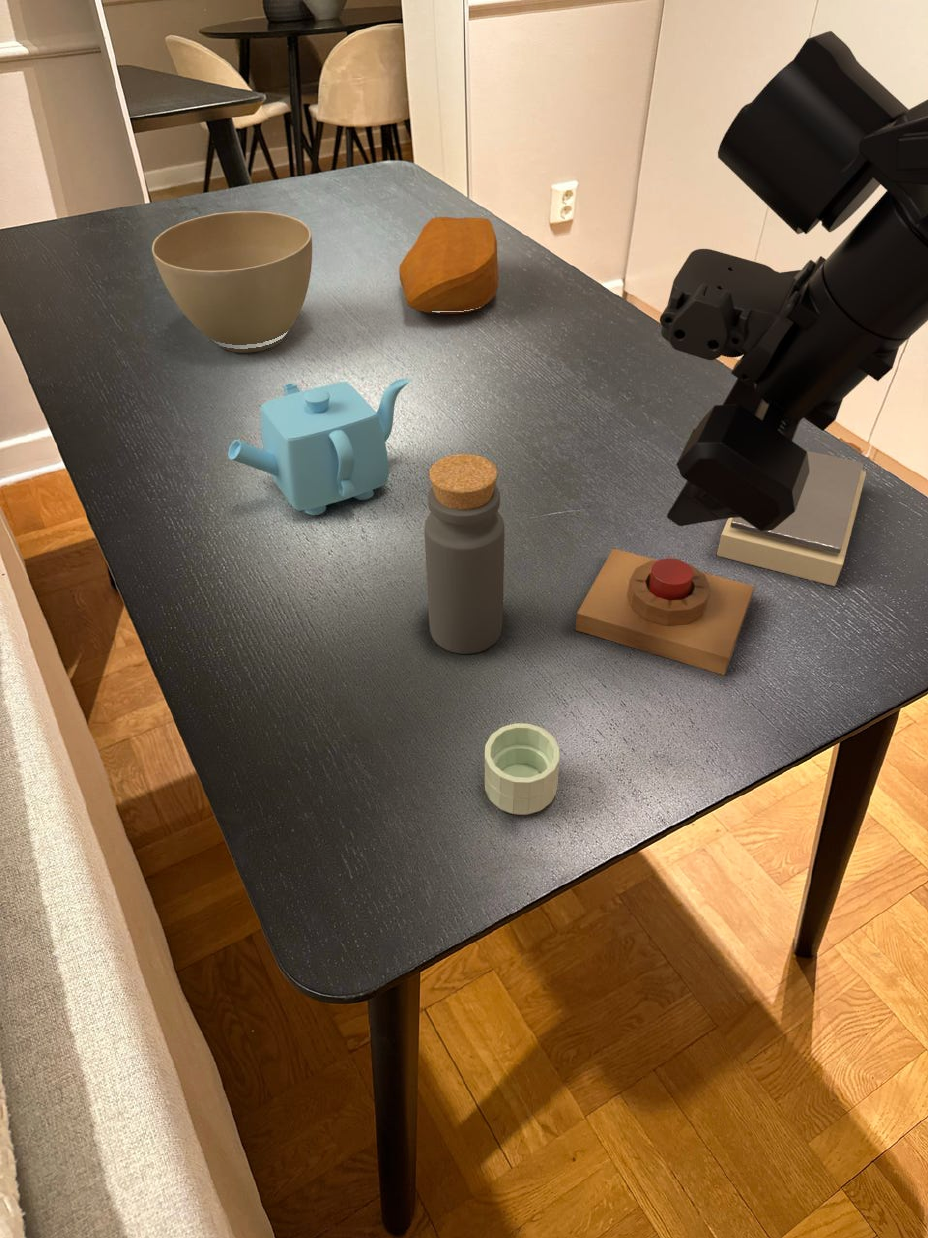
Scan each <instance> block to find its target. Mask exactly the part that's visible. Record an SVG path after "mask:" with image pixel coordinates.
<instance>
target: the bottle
mask: <svg viewBox="0 0 928 1238" xmlns="http://www.w3.org/2000/svg"><path fill="white" fill-rule="evenodd" d="M497 479H498V469H497V466H496V465H495V464H494V463H493V462H492V461H490V459H488V458H486V457H483V456H480V455H477V454H472V453H471V454H470V453H459V454H458V453H457V454H452V455H447V456H445V457H443V458H440V459H439V460H437V461H435V463H434V464H433V465H432V466H431V468H430V470H429V480H430V483H431V486H430V488H429V490H428V492H427V506H428V509H429V511H430V513H429V514H428V515H427V517H426V519H425V520H424V521H425V522H424V550H425V565H426V566H425V570H426V587H427V588H426V590H427V605H428V606H427V607H428V621H429V632H430V635H431V638H432V639H433V641H434V642H435V643H436V644H437V645H438V646H439V647H440V648H443V649H444V650H445V651H448V652H451V653H454V654H460V655H470V654H476V653H477V654H478V653H480V652H483V651H486V650H488V649H489V648H491V647H492V646H494V645H495V644H496V643H497V642H498V640H499V639H500V638H501V634H502V631H503V617H504V615H503V614H504V583H505V582H504V581H505V580H504V576H505V575H504V574H505V573H504V572H505V522H504V518H503V517H502V515H501V514H500V513H499V509H500V505H501V493H500V492H501V491H500V489H499V488H498V486H497V485H496V483H497Z"/></svg>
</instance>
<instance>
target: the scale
mask: <svg viewBox="0 0 928 1238" xmlns="http://www.w3.org/2000/svg"><path fill="white" fill-rule="evenodd" d="M866 476H867V471H865V470H862V472H861V475H860V479H859V483H858V487H857V491H856V495H855V498H854V502H853V506H852V510H851V514H850V517H849V521H848V525H847V529H846V533H845V537H844V540H843V544H842V548H841V551H840V554H835V553H831V552H827V551H823V550H819V549H815V548H811V547H807V546H803V545H799V544H795V543H791V542H787V541H783V540H779V539H775V538H771V537H767V536H763V535H759V534H755V533H751V532H747V531H743V530H739V529H735V528H731V527H730V525H731V522H732V519H733V518H727V519H726V523H725V525H724V528H723V529H722V532H721V534H720V535H721V536H720V539H719V544H718V548H717V551H716V552H717V553H716V556H717V557H720V558H724V559H727V560H732V561H734V562H735V561H736V562H740V563H743V564H747V565H751V566H754V567H759V568H762V569H765V570H766V569H767V570H771V571H773V572H778V573H782V574H785V575H789V576H793V577H796V578H801V579H804V580H809V581H813V582H816V583H820V584H824V585H828V586H832V587H836V585H837V582H838V580H839V577H840V575H841V571H842V569H843V566H844V563H845V558H846V553H847V551H848V547H849V543H850V540H851V538H852V534H853V530H854V525H855V523H856V517H857V515H858V510H859V503H860V499H861V495H862V492H863V487H864V483H865V479H866Z"/></svg>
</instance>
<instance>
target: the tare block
mask: <svg viewBox="0 0 928 1238" xmlns="http://www.w3.org/2000/svg"><path fill="white" fill-rule="evenodd" d="M659 560H660V559H656V558H655V559H654V558H651V557H648V556H643V555H639V554H635V553H632V552H630V551H629V552H628V551H625V550H621V549H619V548H618V549H617V548H612V549H611V551H610V553H609V555H608V556H607V558H606V560H605V562H604V564H603V565H602V567H601V569H600V571H599V573H598V575H597V576H596V577H595V580H594V582H593V584H592V585H591V587H590V589H589V590H588V592H587V594H586V595H585V598H584V599H583V602H582V603H581V605H580V606H579V609H578V610H577V612H576V619H575V629H574V630H575V631H577V632H580V633H583V634H587V635H589V636H590V635H591V636H593V637H597V638H599V639H604V640H606V641H609V642H613V643H616V644H619V645H622V646H626V647H630V648H632V649H636V650H640V651H643V652H646V653H650V654H653V655H656V656H659V657H662V658H665V659H669V660H673V661H675V662H679V663H682V664H686V665H689V666H692V667H695V668H699V669H701V670H705V671H709V672H712V673H716V674H719V675H722V676H725V675H726V673H727V670H728V668H729V664H730V661H731V659H732V657H733V653H734V651H735V648H736V644H737V642H738V639H739V636H740V633H741V630H742V628H743V625H744V622H745V620H746V616H747V613H748V611H749V608H750V605H751V601H752V598H753V594H754V591H755V588H756V587H755V585H752V584H748V583H744V582H740V581H736V580H733V579H729V578H727V577H726V578H725V577H722V576H719V575H716V574H715V575H714V574H711V573H707V572H703V571H700V570H698V569H697V568H696V567H694V566H693V565H692V564H689V563H687V564H688V565H689V566H690V567H691V568H692V570H693V579H692V584H691V589H690V593H689V594H688V596H687V597H685V598H684V599H682V600H666V599H663V598H659V597H656V596H655V595H654V594H652V592H651V591H650V589H649V581H650V575H651V569H652V566H653V565H654V563H655V562H657V561H659Z"/></svg>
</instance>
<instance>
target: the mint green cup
mask: <svg viewBox="0 0 928 1238" xmlns="http://www.w3.org/2000/svg"><path fill="white" fill-rule="evenodd" d="M560 761H561V753H560V746H559V744H558V742H557V741H556V738H555V737H554V735H552V734H551V733H550V732H548V731H547V730H546V729H545V728H543V727H540V726H537V725H536V724H535V725H534V724H531V723H519V722H518V723H517V722H516V723H511V724H507V725H504V726H502V727H499V729H497V730H496V731H494V732H493V733H492V734H491V735H490V736H489V738H488V740H487V742H486V743H485V746H484V790H485V792H486V795H487V797H488V799H489V801H490V802H492V803H493V805H494V806H496V807H497V808H498V809H500V810H501V811H504V812H506V813H509V814H512V815H517V816H527V815H532V814H534V813H538V812H540V811H542V810H543V809H545V808H546V807H547V806H549V805H550V804H551V803H552V802H553V800H554V798H555V796H556V794H557V791H558V783H559V771H560Z"/></svg>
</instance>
